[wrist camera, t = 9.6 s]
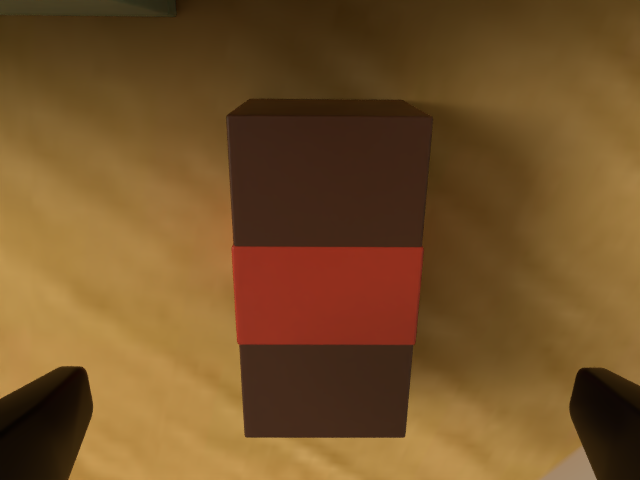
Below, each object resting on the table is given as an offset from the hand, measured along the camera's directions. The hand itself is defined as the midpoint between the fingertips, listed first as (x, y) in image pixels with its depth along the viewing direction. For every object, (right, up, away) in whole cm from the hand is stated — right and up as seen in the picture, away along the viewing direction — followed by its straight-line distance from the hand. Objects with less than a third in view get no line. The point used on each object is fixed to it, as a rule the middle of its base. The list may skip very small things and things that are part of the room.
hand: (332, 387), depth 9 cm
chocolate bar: (0, +3, +7) cm, 8 cm away
